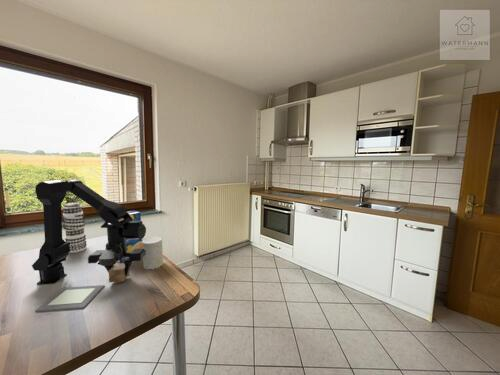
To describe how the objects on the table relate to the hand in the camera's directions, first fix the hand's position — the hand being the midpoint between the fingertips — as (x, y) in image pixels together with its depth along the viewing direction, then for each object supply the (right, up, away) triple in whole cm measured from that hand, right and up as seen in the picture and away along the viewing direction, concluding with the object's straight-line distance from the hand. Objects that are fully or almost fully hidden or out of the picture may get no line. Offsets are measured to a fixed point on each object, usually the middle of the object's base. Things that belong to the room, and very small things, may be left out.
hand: (119, 275), depth 82 cm
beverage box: (-9, 0, +21) cm, 23 cm away
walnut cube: (0, -1, 0) cm, 1 cm away
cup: (+7, -1, +13) cm, 15 cm away
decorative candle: (-41, +2, +29) cm, 50 cm away
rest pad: (-10, -3, -10) cm, 14 cm away
